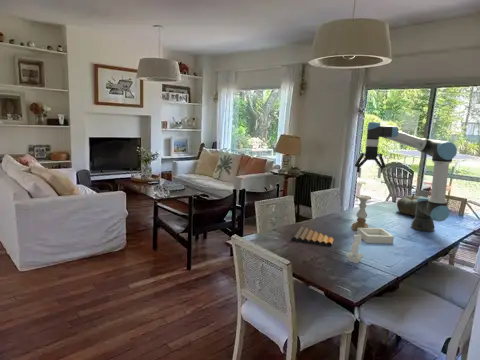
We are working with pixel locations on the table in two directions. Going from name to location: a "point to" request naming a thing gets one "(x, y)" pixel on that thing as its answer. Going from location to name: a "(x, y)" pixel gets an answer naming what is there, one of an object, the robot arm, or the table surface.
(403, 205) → the gourd
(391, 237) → the rimmed tray
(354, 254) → the figurine
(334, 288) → the table surface
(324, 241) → the pan flute
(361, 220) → the candle holder
